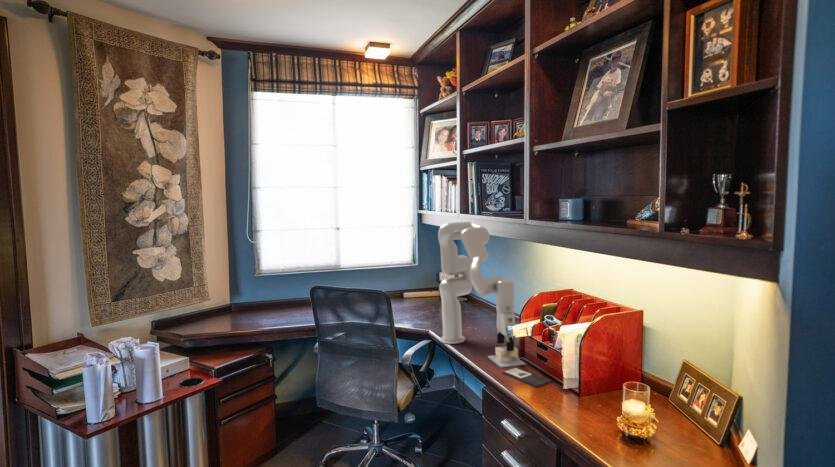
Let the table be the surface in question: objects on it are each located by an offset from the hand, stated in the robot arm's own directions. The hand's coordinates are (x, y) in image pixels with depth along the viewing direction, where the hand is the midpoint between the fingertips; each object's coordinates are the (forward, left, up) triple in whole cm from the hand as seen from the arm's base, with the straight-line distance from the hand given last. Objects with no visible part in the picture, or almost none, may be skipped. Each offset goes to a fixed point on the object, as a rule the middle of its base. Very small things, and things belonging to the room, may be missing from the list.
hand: (505, 346), depth 197 cm
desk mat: (+1, 0, -6) cm, 6 cm away
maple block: (+1, 0, -5) cm, 5 cm away
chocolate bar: (+21, -1, -7) cm, 22 cm away
